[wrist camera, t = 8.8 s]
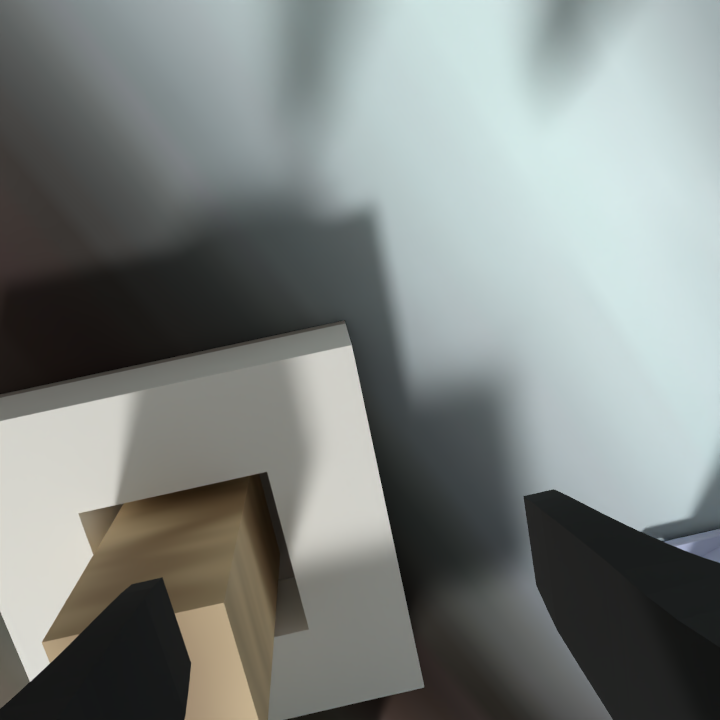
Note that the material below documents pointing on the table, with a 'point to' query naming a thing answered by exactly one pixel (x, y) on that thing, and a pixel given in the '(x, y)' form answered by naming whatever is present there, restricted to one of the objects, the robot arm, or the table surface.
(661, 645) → the robot arm
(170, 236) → the table surface
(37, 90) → the table surface
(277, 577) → the oak peg
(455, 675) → the table surface
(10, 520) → the socket block
